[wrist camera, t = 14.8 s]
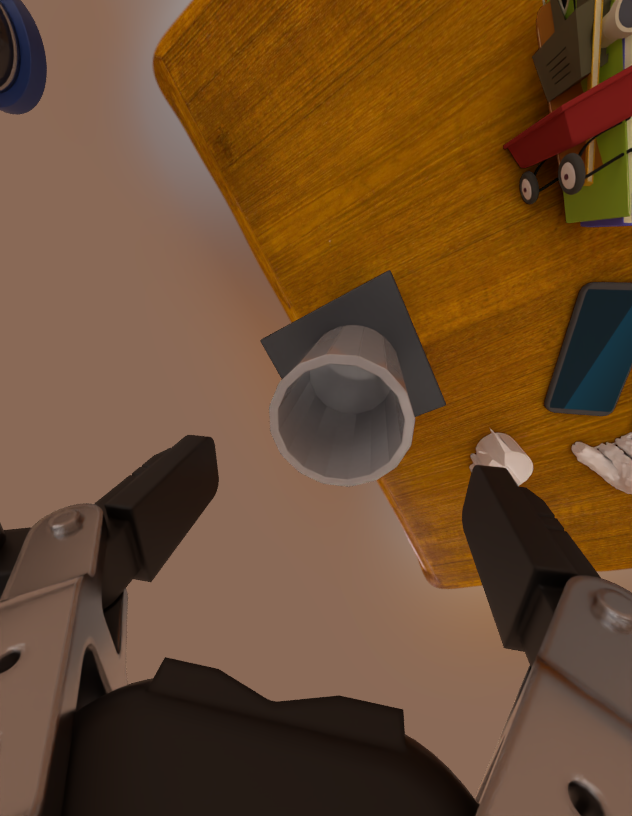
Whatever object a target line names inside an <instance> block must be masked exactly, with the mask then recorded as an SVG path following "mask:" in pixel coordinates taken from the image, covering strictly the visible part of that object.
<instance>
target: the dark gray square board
mask: <svg viewBox="0 0 632 816" xmlns="http://www.w3.org/2000/svg"><path fill="white" fill-rule="evenodd" d="M346 325H359V326H364V327H368V328H371V329H373V330H375V331H377V332H379V333H380V334H381V335H383V336H384V337H385V338H386V339H387V340H388V341H389V342H390V344H391V345H392V346H393V348H394V349H395V351H396V353H397V356H398V360H399V363H400V366H401V370H402V373H403V377H404V380H405V384H406V388H407V391H408V395H409V398H410V402H411V405H412V409H413V412H414V416H415V417H416V416H419V415H421V414H424V413H427V412H429V411H432V410H435V409H437V408H440V407H443V406H445V405H446V403H445V400H444V398H443V395H442V393H441V391H440V388H439V386H438V383H437V381H436V379H435V376H434V374H433V371H432V369H431V367H430V364H429V362H428V359H427V357H426V355H425V352H424V350H423V347H422V345H421V343H420V340H419V338H418V335H417V333H416V331H415V328H414V326H413V323H412V321H411V319H410V316H409V314H408V311H407V309H406V307H405V304H404V302H403V299H402V297H401V295H400V292H399V290H398V287H397V285H396V282H395V280H394V278H393V275H392V273H391V271H390V270H388V271H386V272H385V273H383V274H381V275H379V276H377V277H375V278H374V279H372V280H370V281H368V282H366V283H364V284H363V285H361V286H359V287H357V288H355V289H353V290H351V291H350V292H348V293H346V294H344V295H342V296H340V297H339V298H337V299H335V300H333V301H331V302H329V303H328V304H326V305H324V306H322V307H320V308H318V309H316V310H315V311H313V312H311V313H309V314H307V315H305V316H304V317H302V318H300V319H298V320H296V321H294V322H293V323H291V324H289V325H287V326H285V327H283V328H281V329H280V330H278V331H276V332H274V333H272V334H270V335H269V336H267V337H265V338H263V339H262V340H261V343H262V345H263V347H264V348H265V350H266V352H267V354H268V355H269V357H270V359H271V361H272V362H273V364H274V366H275V368H276V370H277V371H278V373H279V375H280V377H281V378H282V379H283V378H284V376H285V375H286V374H287V373H288V372H289V371H290V370H291V369H292V367H293V366H294V365H295V364H296V363H297V362H298V361H299V360H300V358H301V357H302V356H303V355H304V354H305V353H306V352H307V351H308V349H309V348H310V347H311V346H312V345H313V344H314V343H315V342H316V341H317V340H318V339H319V338H320V337H321V336H323V335H324V334H325V333H326V332H328V331H330V330H332V329H334V328H337V327H341V326H346Z"/></svg>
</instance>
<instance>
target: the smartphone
mask: <svg viewBox="0 0 632 816" xmlns="http://www.w3.org/2000/svg"><path fill="white" fill-rule="evenodd" d="M631 368H632V283H615V282H592V283H588V284H586V285H585V286H584V287H582V289H581V290H580V292H579V295H578V298H577V301H576V304H575V307H574V310H573V314H572V317H571V320H570V323H569V326H568V329H567V332H566V336H565V339H564V342H563V345H562V348H561V351H560V355H559V358H558V361H557V364H556V367H555V370H554V373H553V377H552V380H551V383H550V386H549V389H548V392H547V395H546V399H545V403H544V406H545V407H546V408H547V409H548V410H549V411H551V412H554V413H567V414H580V415H593V416H606V415H609V414H610V413H612V412H613V410H614V409H615V406H616V404H617V402H618V399H619V397H620V394H621V392H622V389H623V387H624V385H625V382H626V380H627V377H628V375H629V372H630V370H631Z"/></svg>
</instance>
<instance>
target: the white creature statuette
mask: <svg viewBox="0 0 632 816" xmlns="http://www.w3.org/2000/svg"><path fill="white" fill-rule="evenodd" d="M616 444H617V445H618V447H619V448H620V449H622V450H620V449H619V448H618V447H617V446H615V445H616ZM597 448H598V449H599V450H597ZM572 452H573V453H574V455H575V456H576V457H577V460H578V461H579V462H581V463H583V464H585V465H587V466H588V467H589V468H590V469H591V470H593V471H595V472H596V473H597V474H598V475H600V476H601V477H602V478H603V479H604V480H605V481H607V482H608V483H609V484H611V486H614V487H615V488H616V489H619V490H621V491H624V492H625V493H627V494H632V432H630V433H628V434H626V435H624V436H621V438H620V439H618V438H616V440H615V442H614V443H608V442H606V445H605V444H603V443H601V444H600V445H599V446H596V447H590V446H589V445H587V444H584V443H582V442H575V445H572Z"/></svg>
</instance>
